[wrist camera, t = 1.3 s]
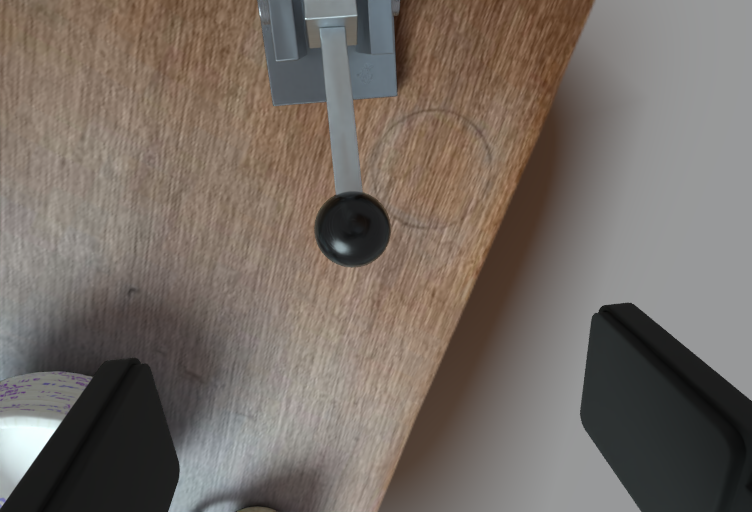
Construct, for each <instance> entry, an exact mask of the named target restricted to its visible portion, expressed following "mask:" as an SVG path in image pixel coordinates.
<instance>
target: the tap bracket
mask: <svg viewBox="0 0 752 512" xmlns="http://www.w3.org/2000/svg"><path fill="white" fill-rule="evenodd" d="M257 1H258V9H259V14H260V19H261V26H262V33H263V40H264V47H265V54H266V60H267V67H268V74H269V81H270V88H271V95H272V102H273V106H281V105H293V104H306V103H318V102H327V100H326V90H325V80H324V70H323V61H322V51H321V48H309V43H308V37H307V30H306V24H305V17H304V7H303V0H257ZM357 8H358V36H357V45H349V46H347V49H348V58H349V68H350V77H351V87H352V96H353V100H356V99H369V98H381V97H394V96H397V75H396V53H395V32H394V16H398V15H399V11H400V0H357Z"/></svg>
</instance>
